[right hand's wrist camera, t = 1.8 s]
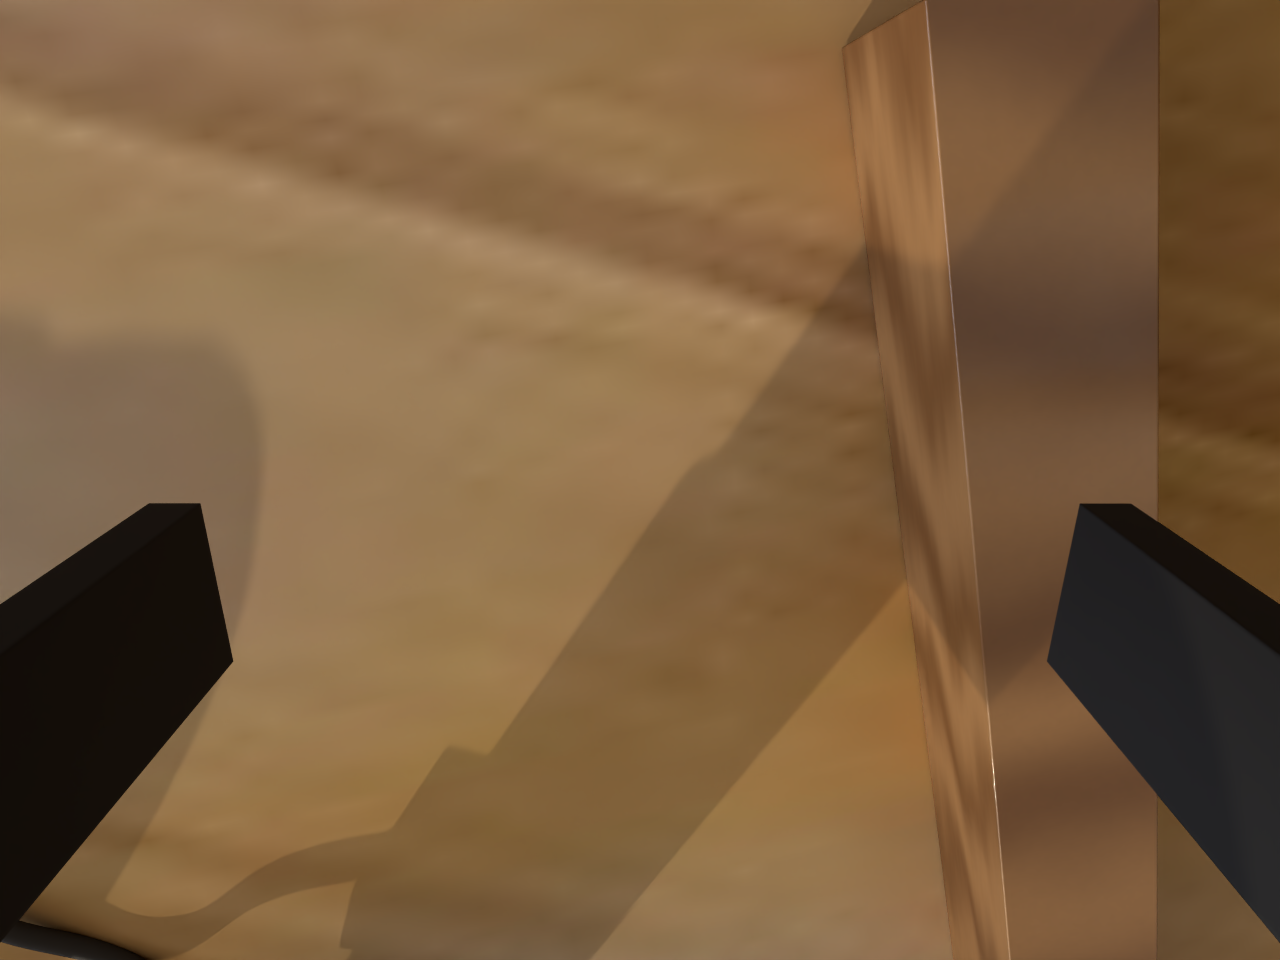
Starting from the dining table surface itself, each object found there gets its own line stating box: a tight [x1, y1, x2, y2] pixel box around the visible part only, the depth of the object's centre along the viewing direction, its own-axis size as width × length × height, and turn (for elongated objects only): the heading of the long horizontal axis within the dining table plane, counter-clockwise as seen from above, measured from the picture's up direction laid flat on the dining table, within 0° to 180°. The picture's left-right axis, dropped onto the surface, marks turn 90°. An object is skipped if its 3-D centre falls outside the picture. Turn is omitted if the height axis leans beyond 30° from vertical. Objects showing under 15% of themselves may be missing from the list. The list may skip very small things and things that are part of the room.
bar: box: [842, 0, 1160, 960], centre depth 33 cm, size 65×5×8 cm, turn 13°
